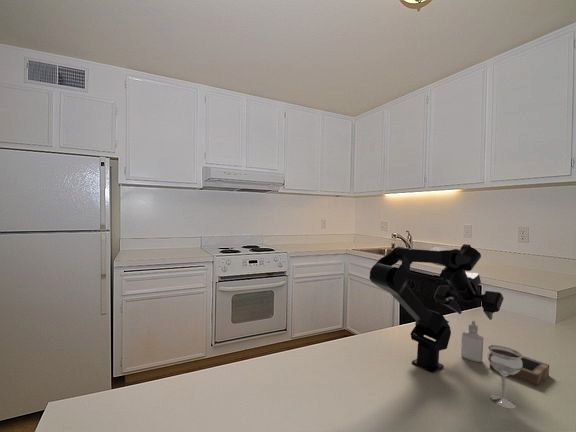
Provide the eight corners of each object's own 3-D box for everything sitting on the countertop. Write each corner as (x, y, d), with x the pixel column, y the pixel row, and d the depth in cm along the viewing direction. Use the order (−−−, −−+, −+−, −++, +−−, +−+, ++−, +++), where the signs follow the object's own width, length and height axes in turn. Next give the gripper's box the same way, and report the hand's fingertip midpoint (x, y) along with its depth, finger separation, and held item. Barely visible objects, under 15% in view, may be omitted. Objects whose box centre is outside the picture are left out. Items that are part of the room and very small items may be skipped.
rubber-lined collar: (537, 386, 78) (537, 375, 78) (489, 367, 87) (490, 357, 87) (548, 375, 84) (549, 364, 84) (503, 359, 93) (504, 349, 93)
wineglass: (481, 399, 70) (484, 349, 70) (490, 389, 75) (492, 342, 75) (516, 414, 65) (519, 361, 65) (523, 403, 70) (526, 353, 70)
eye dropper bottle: (474, 364, 89) (477, 324, 89) (458, 355, 94) (460, 318, 94) (485, 362, 90) (487, 323, 90) (468, 354, 95) (470, 317, 95)
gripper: (500, 265, 88) (515, 302, 92) (438, 261, 103) (454, 294, 108) (489, 291, 82) (506, 330, 87) (426, 284, 98) (443, 317, 102)
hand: (475, 315), depth 96 cm, fingers open, 9 cm apart
